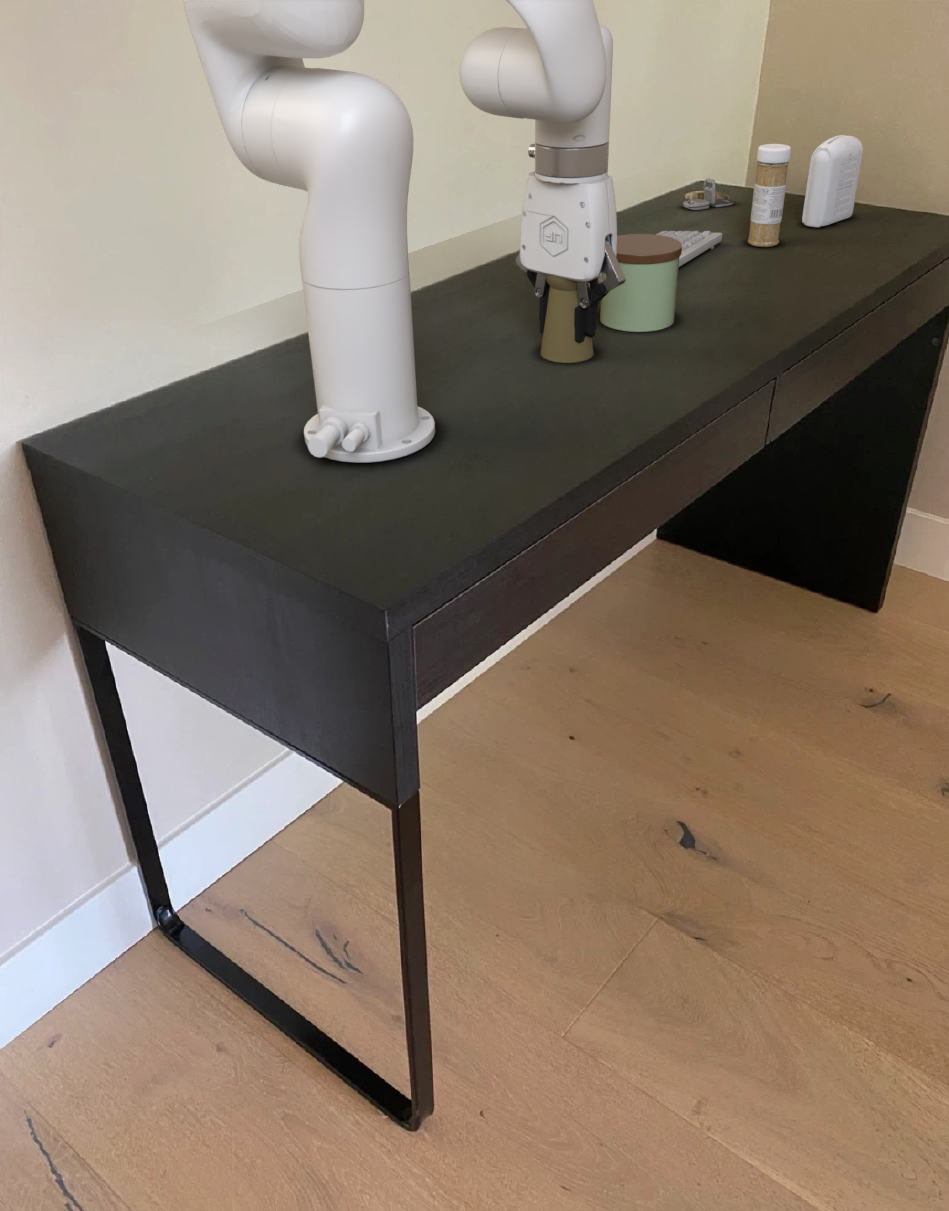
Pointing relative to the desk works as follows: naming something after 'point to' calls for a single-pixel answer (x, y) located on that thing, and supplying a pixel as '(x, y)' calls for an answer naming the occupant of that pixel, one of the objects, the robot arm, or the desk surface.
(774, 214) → the sprinkles bottle
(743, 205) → the desk surface
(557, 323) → the brown tapered tall piece
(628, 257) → the canister
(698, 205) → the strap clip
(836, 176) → the white plastic container
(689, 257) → the keyboard
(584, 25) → the robot arm
